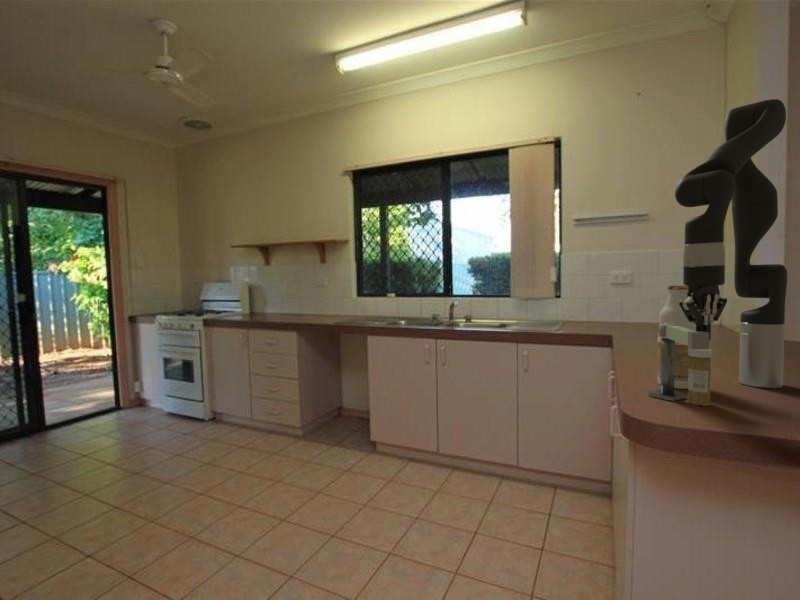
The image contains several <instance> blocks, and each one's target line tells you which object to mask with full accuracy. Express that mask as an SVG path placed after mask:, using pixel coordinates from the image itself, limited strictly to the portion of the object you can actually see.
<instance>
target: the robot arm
mask: <svg viewBox="0 0 800 600" xmlns="http://www.w3.org/2000/svg"><path fill="white" fill-rule="evenodd" d="M786 121H787V111H786V107H785V104H784V102H783V101H782V100H780V99H778V98H775V99H767V100H766V99H765V100H763V101H762V100H761V101H758V102H754V103H749V104H745V105H742V106H738V107H734V108H732V109H730V110H729V111H728V112H727V114H726V116H725V119H724V137H725V142H723V143H722V144H720V145H719V146H718V147H717V148H716V149H714V150H713V152H712V153H710V155H709V156H708V157H707V158H706V160H705V161H704V162H703V163H701V164H699V165H698V166H696V167H695V168H694V169H692V170H690V171H689V172H687V173H686V174H684V176H682V177H681V178H680V180H679V181H678V182H677V184H676V186H675V191H674V198H675V200H676V202H677V203H678V204H679V205H680V206H682V207H684V208H695V207H701V206H702V207H703V206H707V208H706V209H705V211H704V212H703V213H702V214H700V215H698V216H695V217H691V218H689V219H688V220H686V221H685V224H684V249H683V260H682V261H683V263H682V264H683V271H682V274H683V281H682V284H683V285H686V286H688V287H689V288H688V292H687V297H688V298H687V299H686V300H685V301H680V303H679V305H680V307H681V309H682V311H683V312H684V314H685V316H686V318H687V319H688V321H689V322H693V323H694V324H696V331H697V332H708V333H709V342H710V341H711V339H712V338H711V336H712V325H713V324H714V322H718V321H719V319H720V317H721V314H722V313H723V312H724V309H725V307H726V304H727V302H728V299H727V297H726V298H725V297H722V296H721V295H720V294H721V292H720V288H719V287H720V286H724V284H725V283H726V282H725V281H726V250H725V238H724V237H725V230H724V229H725V221H726V217H727V214H728V211H729V207H730V203H731V214H732V226H733V234H734V235H733V236H734V238H733V239H734V274H733V275H734V278H733V279H734V283H733V284H734V289H735V293H736V295H737V296H738V297H740V298H746V299H747V298H748V299H768V302H767V303H766V304H764V305H762V306H759V307H757V308H753V309H748V310H745V311H743V312H741V314H740V324H739V329H740V330H739V332H740V333H739V337H740V338H739V362H738V363H739V369H738V370H739V371H738V382H739V383H740V384H743V385H746V386H749V387H750V386H751V387H757V388H765V389H766V388H767V389H779V388H783V387H784V386H783V383H784V354H785V353H784V352H785V351H784V350H785V349H784V348H785V322H786V321H785V318H786V317H785V316H786V315H785V313H786V312H785V311H786V294H787V288H788V287H787V286H788V271H787V270H788V269H786V266H785V265H784V264H779V263H778V264H776V263H775V264H773V263H772V264H751V258H752V255H753V253H754V251H755V249H756V248H757V246H758V244H759V243H760V242H761V241H762V240H763V238H764V237H765V235H766V234H767V233H768V232H769V230H770V229H771V228H772V227H773V225H774V224H775V222H776V220H777V219H778V218H777V217H778V214H779V206H778V205H779V204H778V203H779V202H778V190H777V188H776V186H775V185H774V184H773V182H772V181H771V180H770V179H769V178H768V177H767V176H766V175H765V174H764V173H763V172H762V171H761V169H759V168H758V167H757V166H756V164H755V163H754V161H753V160H752V157H753V156H754V155H756V154H757V153H759V152H760V150H762V149H763V148H764V147H765V146H767V145H769V143H771V142H772V141H773V140H774V139H776V138H777V137H778V136H779V135H780V134H781V132H782V130H783V129H784V127H785V124H786Z"/></svg>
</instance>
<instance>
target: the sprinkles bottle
mask: <svg viewBox="0 0 800 600" xmlns="http://www.w3.org/2000/svg"><path fill="white" fill-rule="evenodd" d="M712 352H713V351H712V349H710V348H709V350H694V349H688V355H689V356H688V357H689V373H688V389H687V390H688V397H687V398H688V399H687V402H688V403H689V404H690V405H695V406H699V405H702V407H708V406H710V405H711V391H712V390H711V388H712V386H711V385H712V384H711V383H712V382H711V381H712V379H711V368H712V367H711V359H712V355H713V354H712Z"/></svg>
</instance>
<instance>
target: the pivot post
mask: <svg viewBox="0 0 800 600" xmlns="http://www.w3.org/2000/svg"><path fill="white" fill-rule="evenodd" d="M674 384H675V341H674V340H671V339H668V338H661V384H659V385H660V387H659V389H655V390H652V391H651V390H650V391H648V397H650V398H651V397H652V398H655V397H656V399H659V398H660V400H663V399H664V401H668V400H671V401H670V402H672V401H674V402H676V401H675V400H678V401H680V400H679V399H681V400H684V399H687V393H683V392H679V391H675V388H674ZM683 398H684V399H683Z"/></svg>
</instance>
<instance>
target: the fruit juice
mask: <svg viewBox="0 0 800 600" xmlns="http://www.w3.org/2000/svg"><path fill="white" fill-rule="evenodd" d="M688 288H689V287H688V286H686V285H684V284H683V285H675V284H674V285H667V291H668V296H667V299H666V301H665V304H664V306H663V307H662V309H661V310H659V311H660V312H659V313H658V321H659V324H676V325H678V326H680V327H683V328H687V329H690V330H694V331H696V324H694V323H693V322H689V321H688V319H687V318H686V316H685V314H684V312H683V311H682V309H681V307H680V305H679V303H680V301H685V300H686V299H687V298H688V297H687V292H688ZM661 338H666V337H660V336H659V332H658V334H657V368H656V369H657V370H656V372H657V374H656V375H657V377H656V379H657V383H658V384H659V385H660V384H661ZM688 349H689V348H688V346H687V345H684V344H682V343H679V342H676V341H675V384H674V389H676V388H677V389H679V390H689V389H688V373H689V357H688V356H689V355H688Z"/></svg>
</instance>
